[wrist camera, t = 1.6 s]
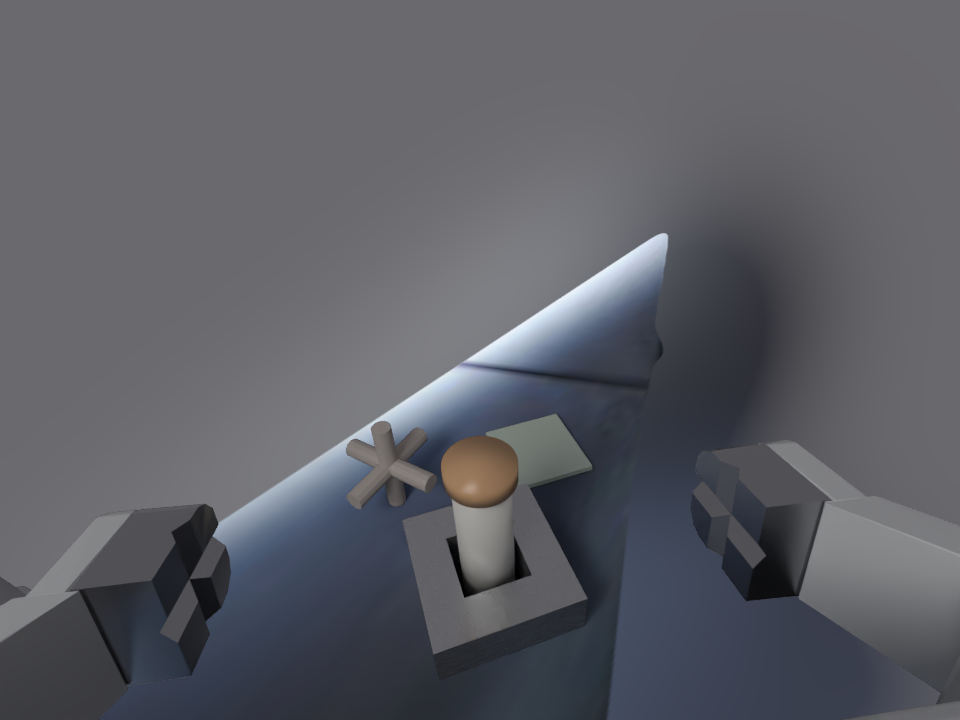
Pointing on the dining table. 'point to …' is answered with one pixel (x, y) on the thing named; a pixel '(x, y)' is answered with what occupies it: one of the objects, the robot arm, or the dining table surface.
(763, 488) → the robot arm
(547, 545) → the housing block
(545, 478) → the rubber mat
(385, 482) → the pipe connector
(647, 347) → the dining table surface
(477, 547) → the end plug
